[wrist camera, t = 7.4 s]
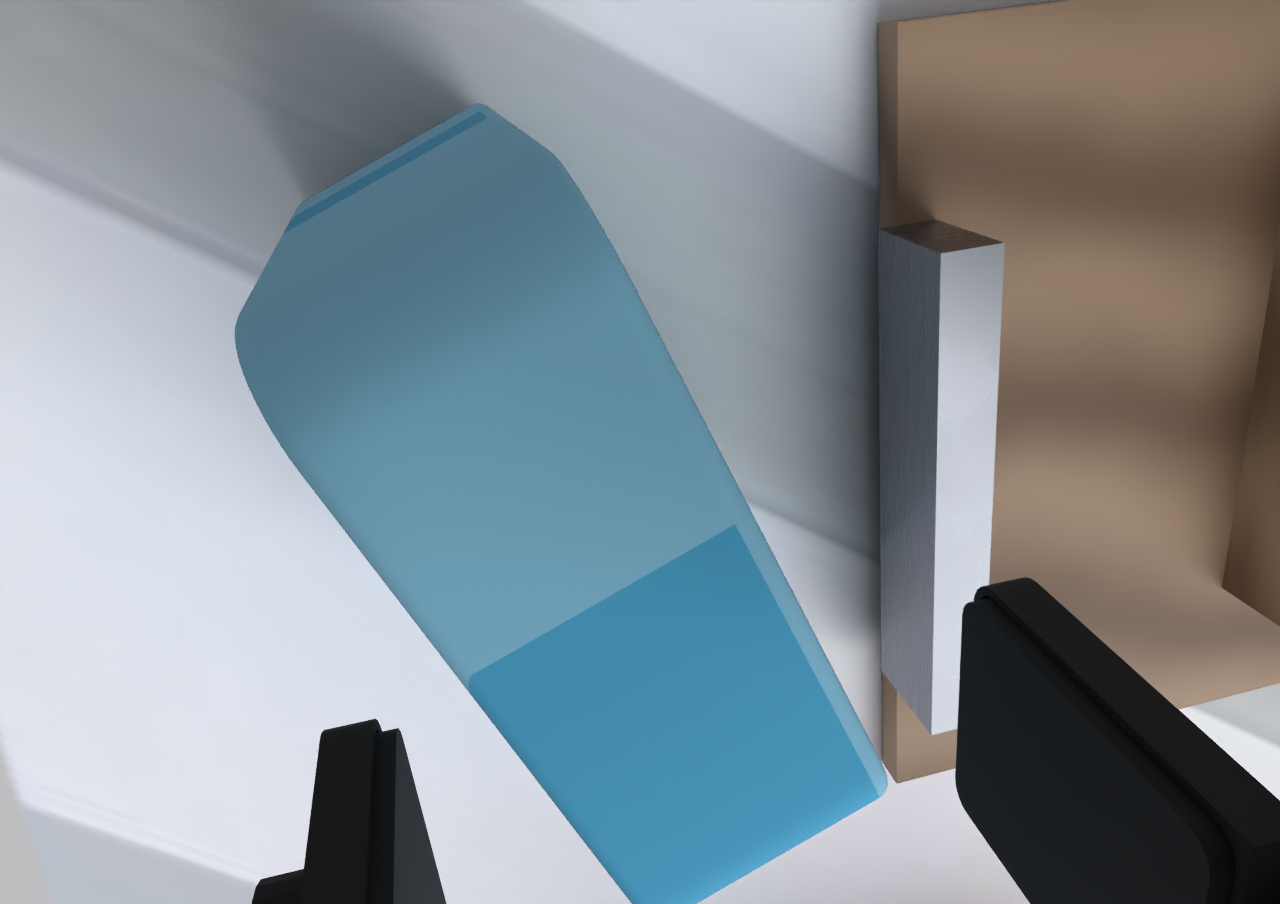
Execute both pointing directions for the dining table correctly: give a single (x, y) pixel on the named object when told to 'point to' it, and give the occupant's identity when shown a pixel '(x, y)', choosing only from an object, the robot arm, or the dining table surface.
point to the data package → (552, 506)
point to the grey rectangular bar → (935, 450)
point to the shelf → (1115, 314)
